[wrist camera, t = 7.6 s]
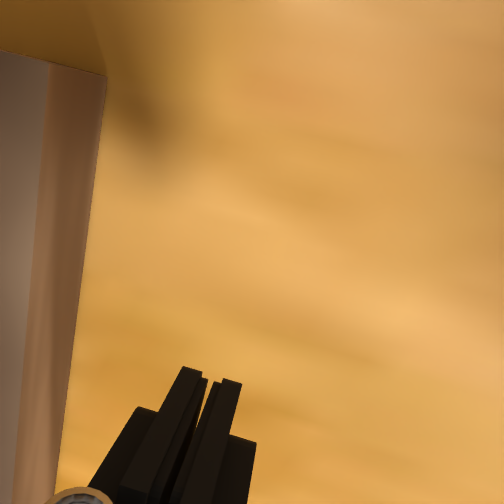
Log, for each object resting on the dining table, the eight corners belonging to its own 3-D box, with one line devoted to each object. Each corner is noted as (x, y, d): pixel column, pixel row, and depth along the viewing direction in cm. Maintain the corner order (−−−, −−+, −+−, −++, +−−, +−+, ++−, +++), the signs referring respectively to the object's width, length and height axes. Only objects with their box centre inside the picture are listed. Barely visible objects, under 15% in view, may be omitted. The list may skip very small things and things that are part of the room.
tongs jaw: (107, 76, 15) (48, 63, 12) (51, 513, 22) (3, 595, 18) (40, 59, 15) (-40, 40, 12) (5, 501, 22) (-52, 580, 18)
